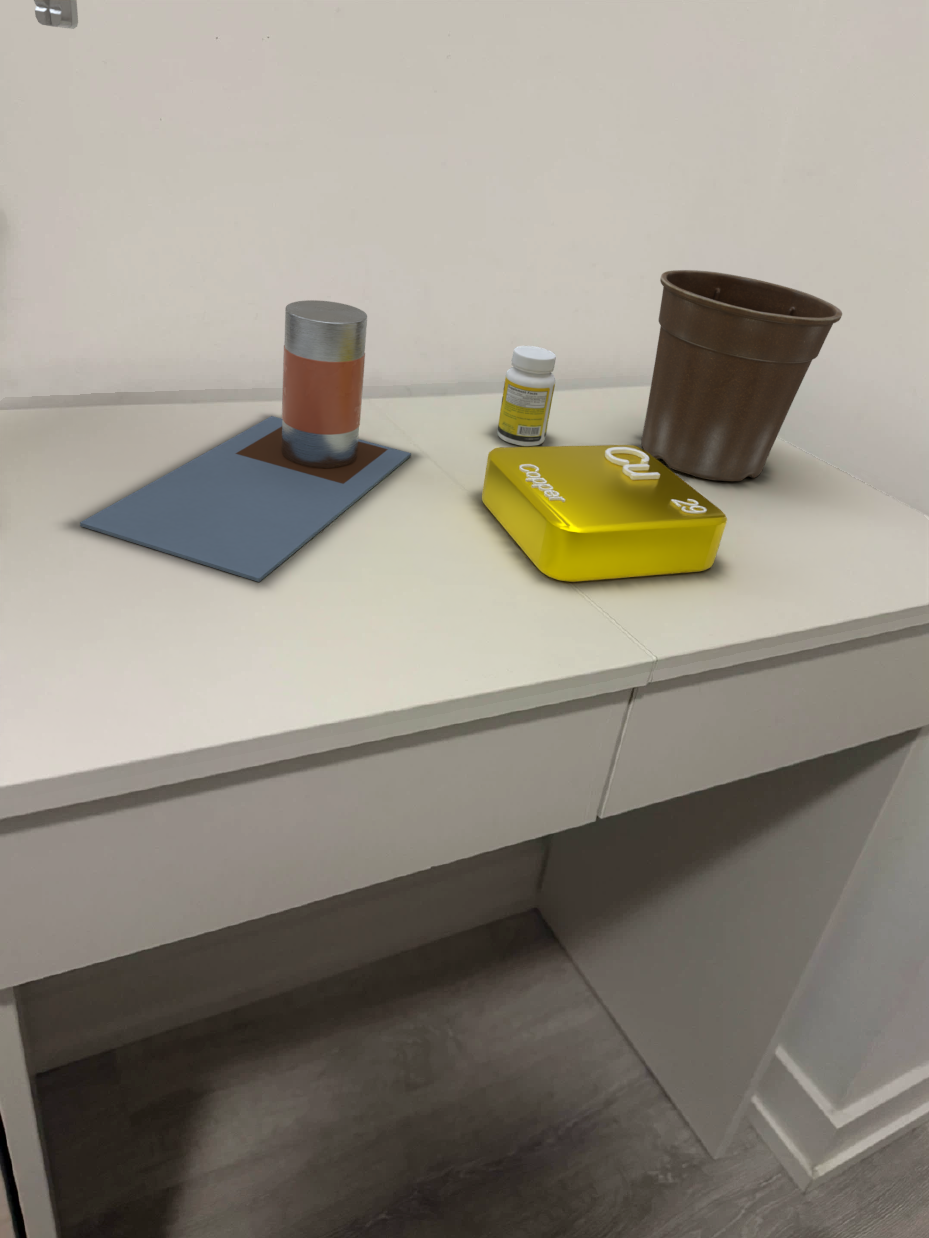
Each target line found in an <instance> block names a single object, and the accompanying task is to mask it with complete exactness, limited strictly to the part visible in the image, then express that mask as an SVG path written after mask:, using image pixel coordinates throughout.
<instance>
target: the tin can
mask: <svg viewBox="0 0 929 1238" xmlns="http://www.w3.org/2000/svg"><path fill="white" fill-rule="evenodd" d="M284 309H285V312H284V343H283V362H282V396H281V397H282V398H281V399H282V400H281V419H282V454H283V455H284V456H285V457H286V458H287V459H288V460H290V461H292V462H294V463H297V464H299V465H303V466H307V467H313V468H338V467H343V466H347V465H349V464H351V463H353V462H354V461H355V460H356V458H357V449H358V439H359V435H360V425H361V418H362V417H361V416H362V401H363V389H364V376H365V375H364V373H365V365H366V364H365V363H366V340H367V327H368V326H367V325H368V314H367V313H366V312H365V311H364V310H362V309H360V308H358V307H356V306H353V305H349V304H346V303H341V302H335V301H329V300H316V299H315V300H314V299H313V300H312V299H311V300H308V299H307V300H297V301H294V302H290V303H287V304H286V306H285V307H284Z"/></svg>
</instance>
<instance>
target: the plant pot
mask: <svg viewBox="0 0 929 1238" xmlns="http://www.w3.org/2000/svg"><path fill="white" fill-rule="evenodd" d="M659 281H660V284H661V285H662V294H661V300H660V308H659V313H658V315H659V316H658V323H659V325H660V328H659V333H658V334H659V335H658V340H657V346H656V353H655V361H654V365H653V366H654V367H653V370H652V371H653V372H652V378H651V384H650V388H649V395H648V401H647V407H646V412H645V418H644V423H643V429H642V434H641V438H640V439H641V440H640V443H641V447H642V449H643V450H644V451H646V452H648V453H649V454H651V455H652V456H653V457H654V458H656V459H657V460H660V459H662V460H663V462H665V463H666V465H667V466H668V468H669V469H672V470H675V471H678V472H681V473H683V474H684V473H685V474H687V475H691V476H692V477H695V478H699V479H703V480H704V479H705V480H711V481H723V482H741V481H743V480H744V479H746V478H747V477H749V478H751V479H755V478H757V477H758V476H759V475H760V474H761V473H762V472H763V469H764V467H765V465H766V462H767V460H768V458H769V456H770V453H771V451H772V448H773V446H774V444H775V442H776V439H777V437H778V435H779V433H780V430H781V428H782V426H783V424H784V422H785V420H786V418H787V416H788V413H789V411H790V408H791V407H792V404H793V402H794V400H795V398H796V396H797V394H798V392H799V389H800V387H801V385H802V383H803V381H804V379H805V376H806V374H807V372H808V370H809V368H810V366H811V364H812V362H813V360H814V359H816V358H818V357H819V355H820V352H821V350H822V348H823V346H824V344H825V341H826V340H827V337H828V335H829V333H830V331H831V329H832V327H833V325H834V324H836V323H839V321H840V320H841V318H842V316H843V312H842V310H841V309H840V308H839V307H838V306H836V305H834V304H833V303H831V302H828V301H827V300H825V299H822V298H820V297H817V296H815V295H813V294H811V293H808V292H806V291H805V292H804V291H802V290H799V289H795V288H791V287H788V286H784V285H781V284H777V283H773V282H769V281H766V280H765V281H764V280H761V279H756V278H751V277H747V276H740V275H735V274H732V273H731V274H730V273H724V272H717V271H710V270H698V269H697V270H695V269H680V270H679V269H675V270H667V271H664V272H662V274H661V275H660V280H659Z"/></svg>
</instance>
